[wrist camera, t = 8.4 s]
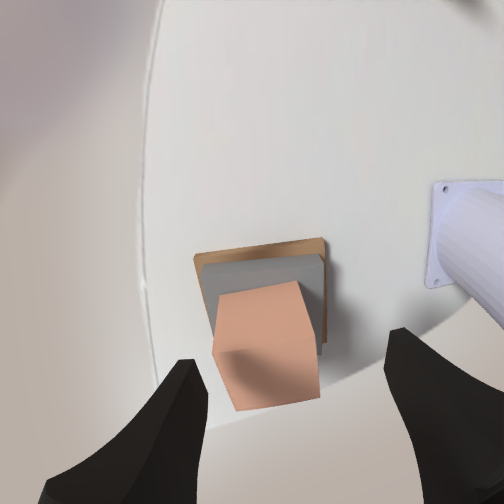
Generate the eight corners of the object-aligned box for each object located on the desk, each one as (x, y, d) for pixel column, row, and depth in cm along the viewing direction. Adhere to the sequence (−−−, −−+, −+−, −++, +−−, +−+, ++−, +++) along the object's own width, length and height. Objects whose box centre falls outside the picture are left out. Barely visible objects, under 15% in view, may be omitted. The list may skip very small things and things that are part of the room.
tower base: (319, 233, 19) (324, 241, 17) (322, 330, 22) (326, 342, 20) (197, 249, 19) (193, 259, 18) (221, 342, 22) (219, 355, 21)
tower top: (318, 253, 17) (323, 264, 16) (317, 341, 20) (320, 354, 19) (204, 264, 18) (199, 275, 16) (221, 349, 20) (219, 363, 19)
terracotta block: (296, 280, 16) (314, 335, 12) (305, 339, 18) (320, 397, 14) (219, 295, 17) (211, 353, 12) (237, 351, 18) (236, 411, 14)
